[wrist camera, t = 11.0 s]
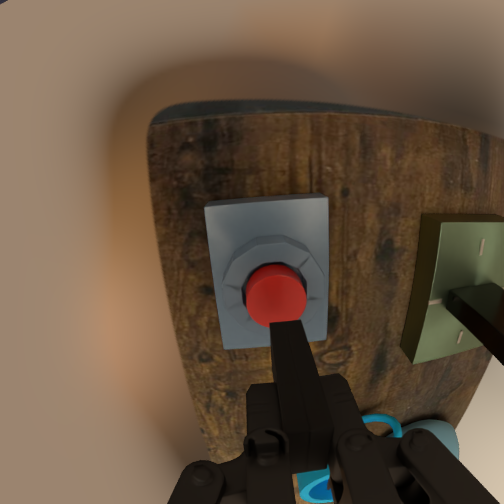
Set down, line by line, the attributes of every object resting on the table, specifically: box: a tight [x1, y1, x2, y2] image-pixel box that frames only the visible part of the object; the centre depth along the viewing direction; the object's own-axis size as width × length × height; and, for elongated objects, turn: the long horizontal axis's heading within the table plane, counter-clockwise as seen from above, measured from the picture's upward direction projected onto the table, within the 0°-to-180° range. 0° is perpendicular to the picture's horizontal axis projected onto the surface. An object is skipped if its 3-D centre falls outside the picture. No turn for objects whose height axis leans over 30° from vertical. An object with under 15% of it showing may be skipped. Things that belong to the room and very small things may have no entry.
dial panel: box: [400, 214, 504, 364], centre depth 22 cm, size 13×10×3 cm
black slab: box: [446, 283, 504, 366], centre depth 17 cm, size 6×2×9 cm, turn 93°
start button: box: [246, 264, 307, 328], centre depth 19 cm, size 4×4×2 cm
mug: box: [297, 413, 402, 503], centre depth 25 cm, size 12×8×8 cm
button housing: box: [204, 193, 329, 350], centre depth 21 cm, size 11×8×4 cm
